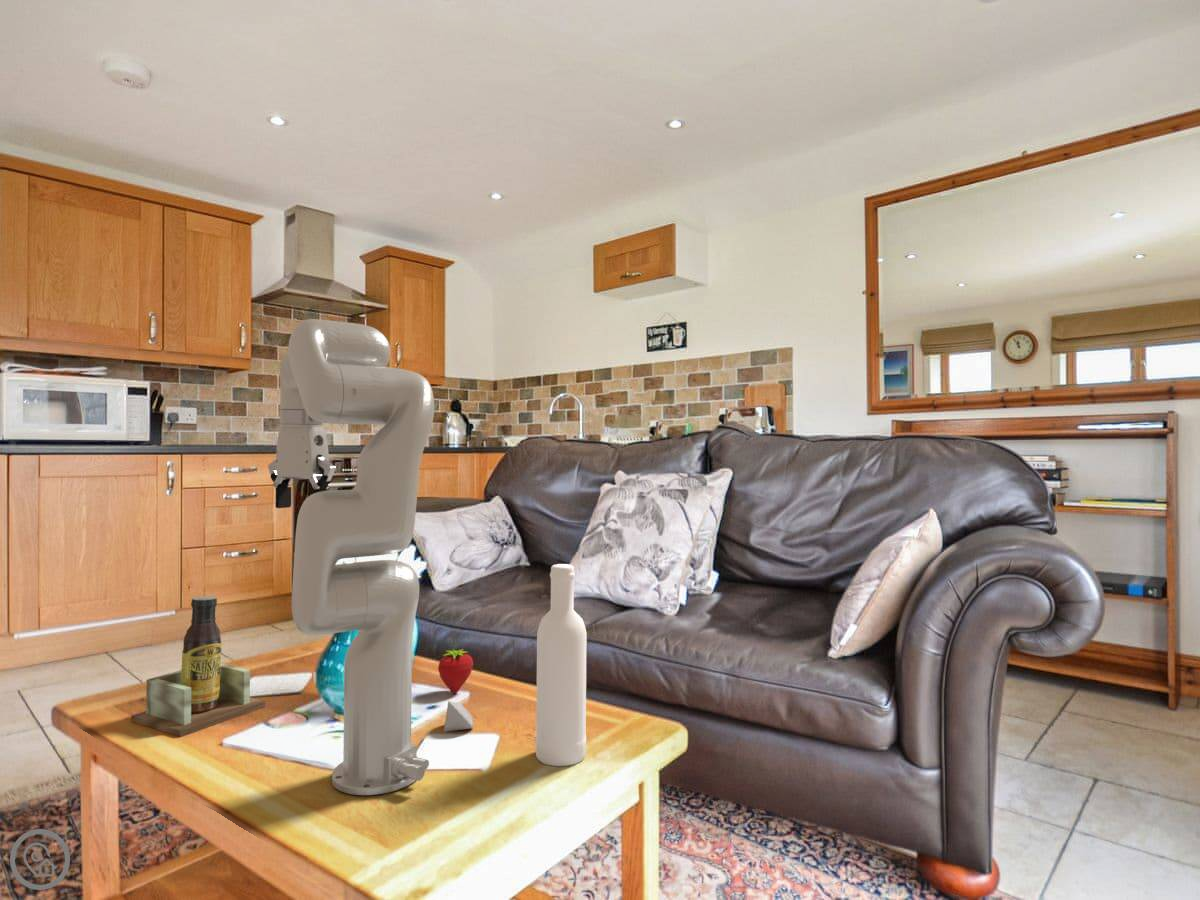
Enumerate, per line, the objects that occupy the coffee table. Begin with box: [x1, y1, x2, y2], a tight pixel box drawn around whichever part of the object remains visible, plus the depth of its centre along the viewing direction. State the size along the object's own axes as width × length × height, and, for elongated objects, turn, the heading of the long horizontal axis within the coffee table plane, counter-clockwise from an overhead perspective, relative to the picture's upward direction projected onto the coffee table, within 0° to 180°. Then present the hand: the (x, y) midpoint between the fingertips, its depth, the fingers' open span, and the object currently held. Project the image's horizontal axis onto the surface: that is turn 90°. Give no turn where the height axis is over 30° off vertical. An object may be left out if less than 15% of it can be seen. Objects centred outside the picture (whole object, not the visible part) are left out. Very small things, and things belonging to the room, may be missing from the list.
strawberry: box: [437, 643, 474, 694], centre depth 142 cm, size 6×8×10 cm
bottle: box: [535, 563, 588, 767], centre depth 113 cm, size 8×8×30 cm
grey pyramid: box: [443, 700, 474, 733], centre depth 124 cm, size 6×6×5 cm
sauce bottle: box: [181, 595, 222, 713], centre depth 130 cm, size 6×6×20 cm
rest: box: [130, 663, 266, 738], centre depth 130 cm, size 14×16×7 cm
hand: (300, 508), depth 139 cm, fingers open, 9 cm apart
